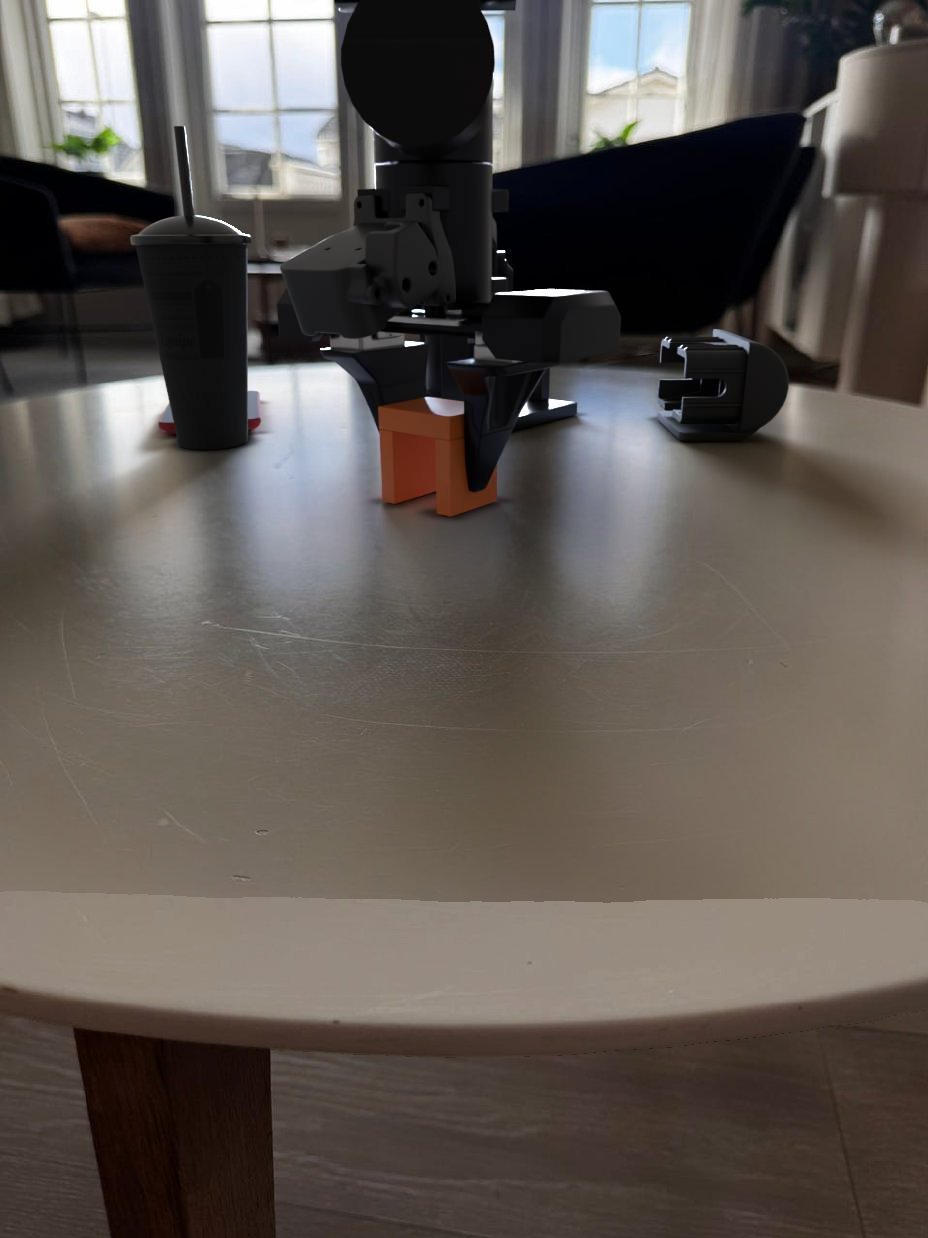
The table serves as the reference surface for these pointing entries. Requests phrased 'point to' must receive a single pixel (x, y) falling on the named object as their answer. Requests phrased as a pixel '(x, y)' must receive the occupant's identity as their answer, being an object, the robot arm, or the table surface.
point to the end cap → (720, 387)
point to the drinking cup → (199, 318)
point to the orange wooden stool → (428, 455)
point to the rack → (536, 406)
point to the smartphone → (253, 414)
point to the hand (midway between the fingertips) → (439, 483)
